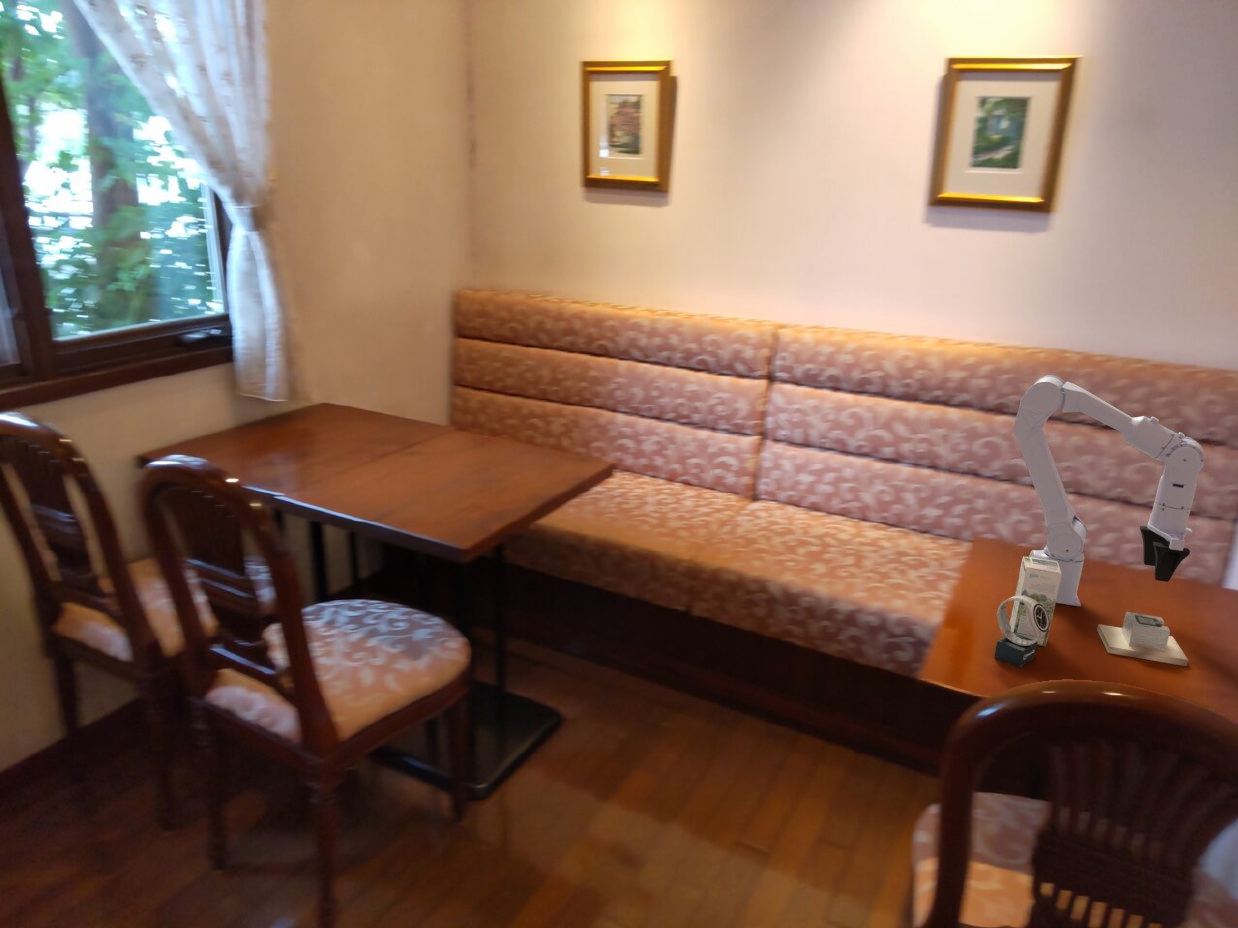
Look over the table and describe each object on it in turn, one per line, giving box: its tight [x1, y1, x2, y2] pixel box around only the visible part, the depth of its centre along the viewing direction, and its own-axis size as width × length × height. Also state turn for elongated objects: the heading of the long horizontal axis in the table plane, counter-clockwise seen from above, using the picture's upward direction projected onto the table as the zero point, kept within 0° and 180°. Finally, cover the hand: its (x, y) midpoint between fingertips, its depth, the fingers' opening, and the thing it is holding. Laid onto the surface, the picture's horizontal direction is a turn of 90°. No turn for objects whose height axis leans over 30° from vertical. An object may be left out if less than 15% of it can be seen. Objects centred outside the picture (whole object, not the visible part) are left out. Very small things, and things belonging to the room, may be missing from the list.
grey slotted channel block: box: [1121, 611, 1171, 652], centre depth 150 cm, size 6×6×4 cm
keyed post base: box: [1096, 617, 1189, 667], centre depth 150 cm, size 12×9×5 cm
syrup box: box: [1009, 555, 1062, 647], centre depth 150 cm, size 6×6×14 cm
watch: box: [993, 595, 1049, 669], centre depth 143 cm, size 6×8×11 cm
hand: (1155, 572), depth 160 cm, fingers open, 7 cm apart
